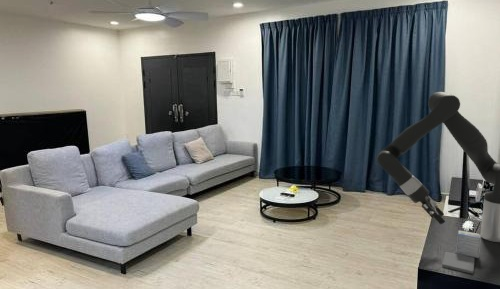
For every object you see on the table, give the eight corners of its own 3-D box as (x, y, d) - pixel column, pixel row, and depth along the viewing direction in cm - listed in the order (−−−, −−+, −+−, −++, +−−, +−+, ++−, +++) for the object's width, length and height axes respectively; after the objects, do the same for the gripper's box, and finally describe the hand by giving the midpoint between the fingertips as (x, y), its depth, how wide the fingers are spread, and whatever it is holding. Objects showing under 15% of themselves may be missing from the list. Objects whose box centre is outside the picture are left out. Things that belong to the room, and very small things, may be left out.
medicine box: (478, 254, 145) (480, 233, 144) (478, 258, 142) (481, 238, 140) (456, 249, 149) (457, 229, 148) (455, 254, 146) (457, 233, 144)
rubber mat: (445, 253, 146) (445, 251, 146) (474, 260, 140) (474, 257, 140) (442, 266, 136) (442, 264, 136) (473, 274, 130) (473, 271, 130)
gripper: (421, 188, 142) (451, 220, 140) (421, 179, 155) (449, 208, 152) (405, 199, 146) (435, 230, 143) (407, 189, 158) (434, 218, 155)
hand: (442, 219), depth 147 cm, fingers open, 8 cm apart
